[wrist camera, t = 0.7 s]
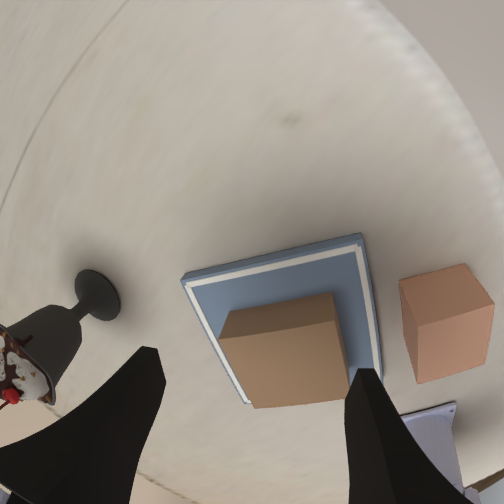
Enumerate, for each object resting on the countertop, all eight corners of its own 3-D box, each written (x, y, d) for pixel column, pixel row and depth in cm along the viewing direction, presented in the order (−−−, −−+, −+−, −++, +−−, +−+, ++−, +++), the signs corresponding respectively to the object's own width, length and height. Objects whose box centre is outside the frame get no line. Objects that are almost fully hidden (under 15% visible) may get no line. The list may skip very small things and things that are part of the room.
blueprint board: (382, 376, 23) (387, 414, 19) (246, 395, 26) (237, 430, 23) (360, 232, 18) (371, 262, 15) (184, 273, 22) (162, 305, 18)
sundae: (139, 295, 23) (12, 440, 10) (115, 339, 26) (18, 460, 13) (78, 243, 23) (-66, 350, 9) (63, 294, 26) (-46, 394, 12)
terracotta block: (462, 319, 20) (484, 363, 15) (403, 335, 21) (417, 384, 17) (463, 262, 18) (494, 303, 13) (398, 279, 19) (417, 326, 15)
